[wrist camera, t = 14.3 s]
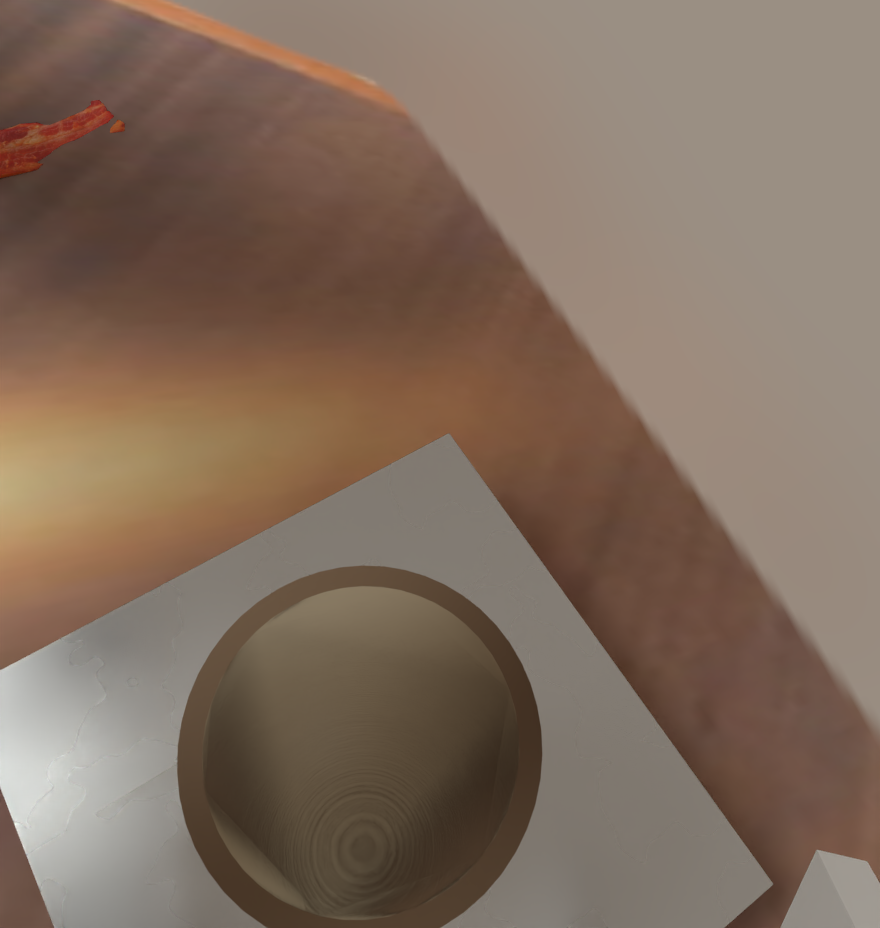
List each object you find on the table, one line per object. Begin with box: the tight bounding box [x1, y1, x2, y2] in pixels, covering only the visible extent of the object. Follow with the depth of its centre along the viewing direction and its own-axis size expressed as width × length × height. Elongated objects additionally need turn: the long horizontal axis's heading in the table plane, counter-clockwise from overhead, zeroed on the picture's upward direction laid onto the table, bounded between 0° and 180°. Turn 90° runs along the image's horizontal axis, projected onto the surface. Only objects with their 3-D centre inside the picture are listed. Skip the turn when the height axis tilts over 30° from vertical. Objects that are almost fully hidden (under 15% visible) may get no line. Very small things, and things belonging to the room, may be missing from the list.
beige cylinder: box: [177, 566, 542, 928], centre depth 16 cm, size 5×5×14 cm
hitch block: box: [0, 433, 773, 928], centre depth 21 cm, size 14×14×5 cm
